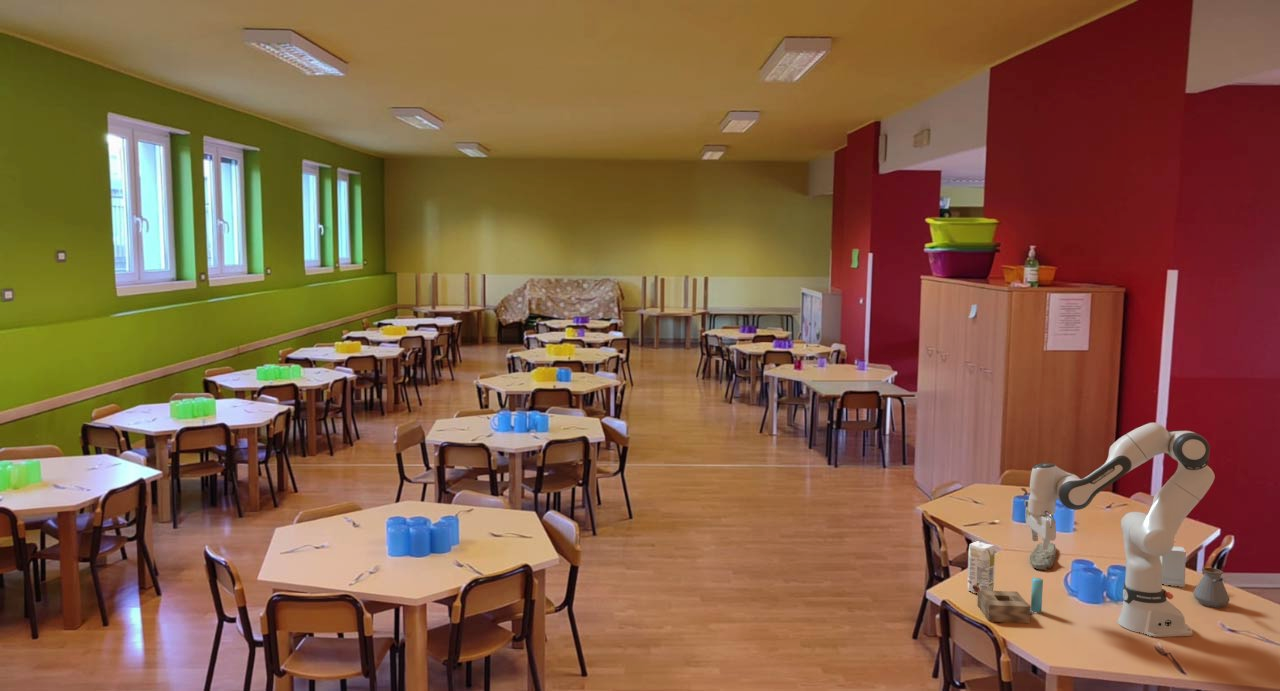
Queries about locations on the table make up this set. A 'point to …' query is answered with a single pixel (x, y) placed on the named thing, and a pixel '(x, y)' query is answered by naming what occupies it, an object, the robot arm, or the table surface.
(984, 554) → the juice carton
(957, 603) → the table surface
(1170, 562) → the skincare box
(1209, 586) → the coffee pot
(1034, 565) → the long grey stone
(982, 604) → the socket block
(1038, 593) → the peg
